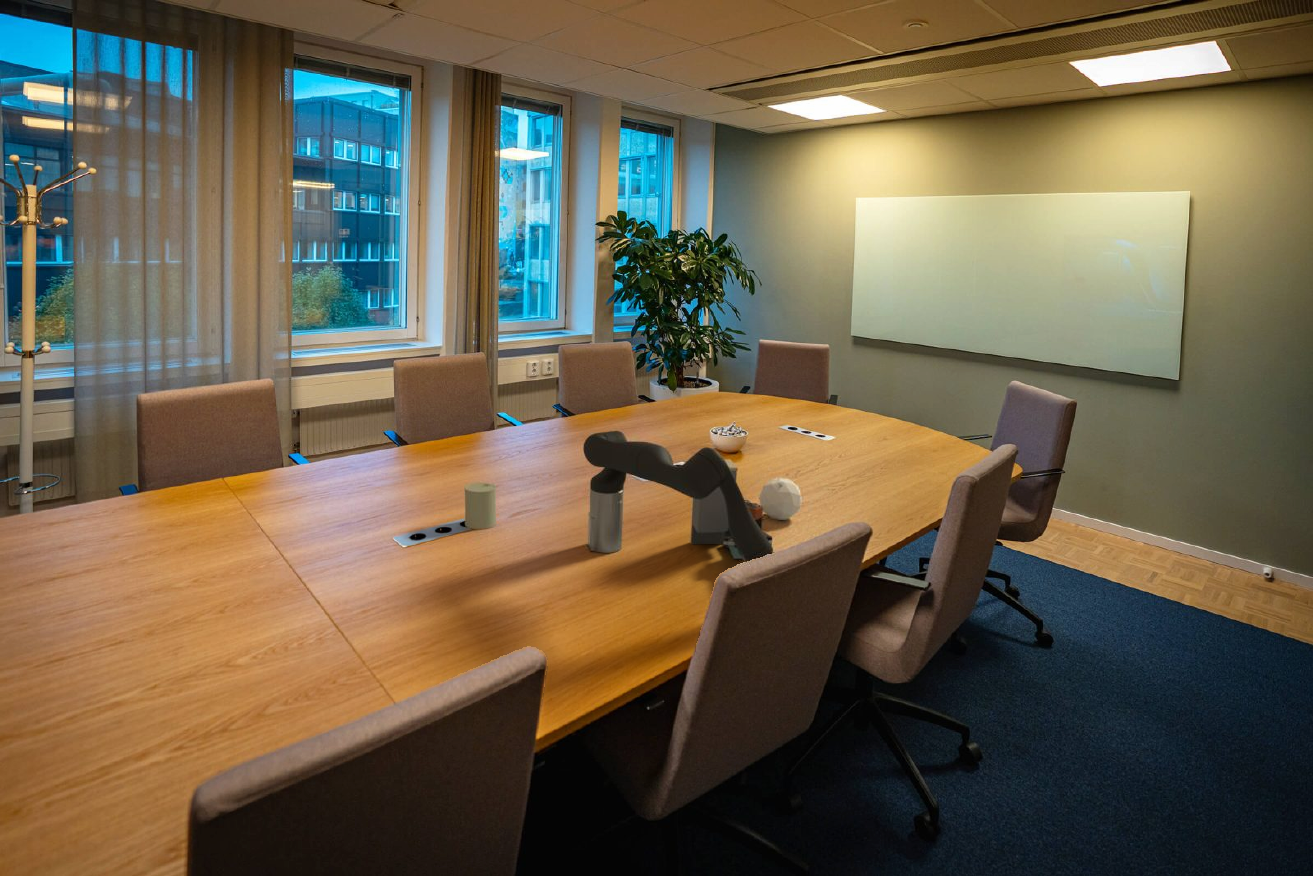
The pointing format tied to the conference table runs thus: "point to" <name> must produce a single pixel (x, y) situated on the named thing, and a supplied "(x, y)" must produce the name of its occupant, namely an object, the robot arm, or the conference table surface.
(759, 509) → the battery
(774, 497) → the geodesic sphere
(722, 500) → the cabinet
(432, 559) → the conference table surface
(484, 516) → the can
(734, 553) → the green piece
